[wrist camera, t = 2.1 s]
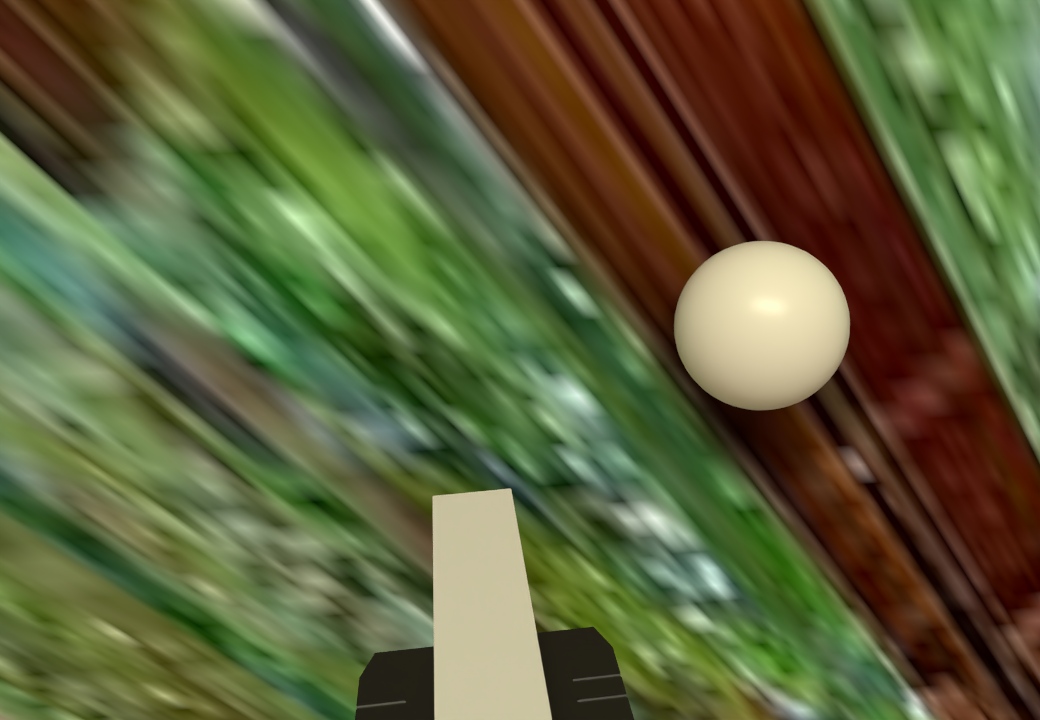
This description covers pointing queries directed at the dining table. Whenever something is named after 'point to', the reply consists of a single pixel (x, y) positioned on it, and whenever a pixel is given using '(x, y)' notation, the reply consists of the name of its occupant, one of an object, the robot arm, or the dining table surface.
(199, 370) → the dining table surface
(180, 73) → the dining table surface
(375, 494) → the dining table surface
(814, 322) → the cue ball
